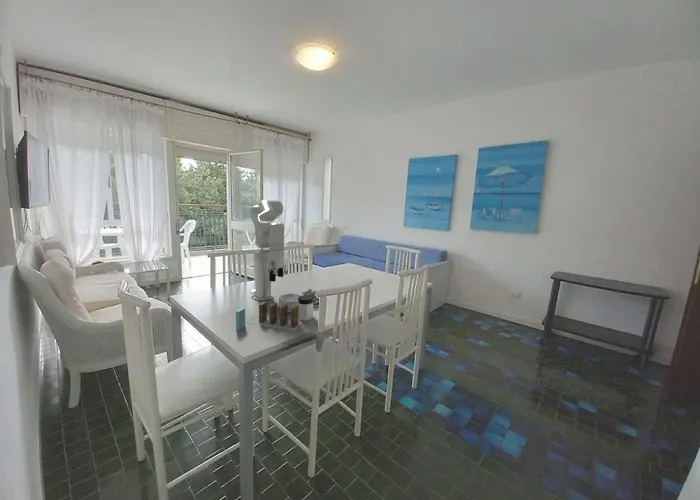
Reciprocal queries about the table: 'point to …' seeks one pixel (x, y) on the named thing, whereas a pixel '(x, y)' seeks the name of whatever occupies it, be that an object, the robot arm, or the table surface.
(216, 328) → the table surface
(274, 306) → the tile
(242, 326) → the tile
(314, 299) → the passion flower
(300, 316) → the jar
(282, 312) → the tile
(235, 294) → the table surface
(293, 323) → the tile
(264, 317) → the tile
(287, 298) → the paper bowls
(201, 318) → the table surface
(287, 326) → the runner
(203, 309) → the table surface
